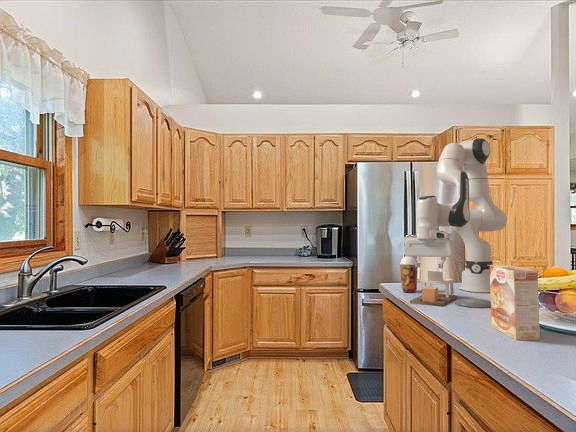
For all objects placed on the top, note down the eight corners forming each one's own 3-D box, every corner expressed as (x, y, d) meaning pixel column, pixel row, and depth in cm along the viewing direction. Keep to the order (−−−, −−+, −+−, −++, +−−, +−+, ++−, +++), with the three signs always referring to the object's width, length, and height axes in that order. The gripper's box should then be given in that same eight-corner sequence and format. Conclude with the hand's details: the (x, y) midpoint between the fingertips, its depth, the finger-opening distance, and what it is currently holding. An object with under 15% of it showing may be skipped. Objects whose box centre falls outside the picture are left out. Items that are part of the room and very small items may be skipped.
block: (426, 300, 174) (425, 286, 174) (438, 302, 171) (437, 287, 171) (422, 302, 169) (422, 288, 170) (434, 304, 167) (434, 289, 167)
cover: (428, 292, 186) (428, 268, 186) (454, 294, 180) (453, 269, 180) (422, 295, 179) (421, 270, 179) (448, 297, 172) (447, 272, 173)
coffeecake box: (490, 326, 130) (488, 265, 130) (513, 326, 129) (511, 264, 130) (515, 340, 115) (513, 270, 115) (541, 340, 114) (539, 270, 115)
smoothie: (403, 290, 201) (402, 249, 202) (420, 291, 197) (419, 249, 197) (397, 292, 195) (396, 250, 195) (415, 294, 190) (414, 250, 190)
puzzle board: (426, 295, 187) (426, 292, 187) (456, 297, 179) (456, 295, 179) (409, 303, 169) (409, 300, 169) (442, 306, 161) (442, 303, 161)
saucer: (459, 300, 174) (459, 297, 174) (496, 303, 165) (496, 300, 165) (451, 305, 162) (450, 303, 162) (489, 309, 154) (489, 306, 154)
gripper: (401, 234, 174) (401, 267, 174) (451, 234, 162) (452, 269, 162) (406, 234, 179) (407, 266, 179) (455, 234, 167) (456, 268, 167)
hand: (429, 267), depth 170 cm, fingers open, 8 cm apart
